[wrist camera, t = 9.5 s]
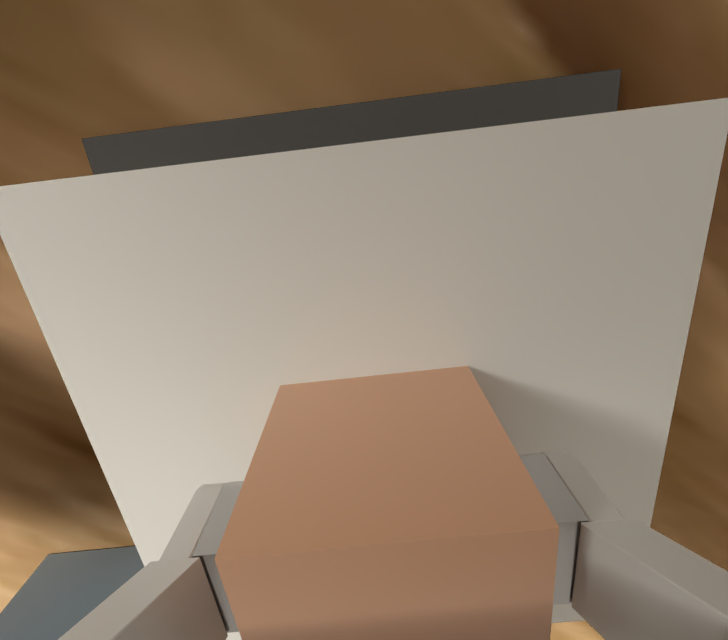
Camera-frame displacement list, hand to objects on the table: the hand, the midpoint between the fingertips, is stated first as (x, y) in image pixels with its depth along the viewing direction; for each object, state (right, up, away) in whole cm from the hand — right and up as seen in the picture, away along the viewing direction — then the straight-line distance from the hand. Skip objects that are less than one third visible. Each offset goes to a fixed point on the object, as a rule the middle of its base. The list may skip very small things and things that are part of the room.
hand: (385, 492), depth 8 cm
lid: (0, +1, +2) cm, 3 cm away
